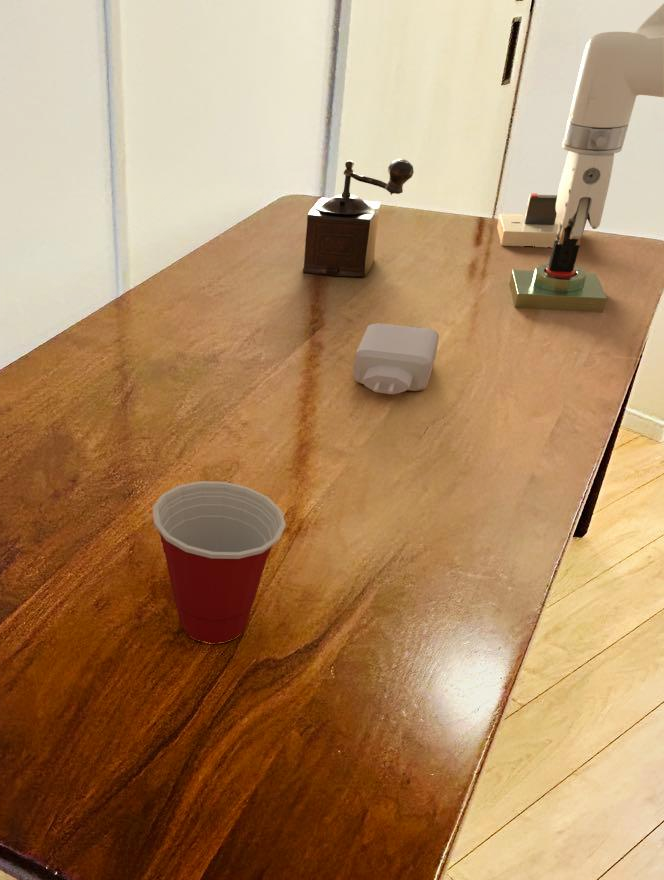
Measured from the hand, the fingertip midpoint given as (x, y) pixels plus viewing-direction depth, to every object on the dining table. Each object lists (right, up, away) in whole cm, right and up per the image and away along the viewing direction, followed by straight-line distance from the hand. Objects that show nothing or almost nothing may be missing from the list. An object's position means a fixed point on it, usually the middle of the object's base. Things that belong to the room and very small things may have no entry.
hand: (560, 269), depth 133 cm
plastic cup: (-56, -48, -53) cm, 91 cm away
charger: (-30, -20, -18) cm, 40 cm away
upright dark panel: (+7, +15, +23) cm, 28 cm away
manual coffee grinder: (-26, +5, +16) cm, 31 cm away
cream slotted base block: (+7, +13, +24) cm, 28 cm away
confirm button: (0, -1, +1) cm, 2 cm away
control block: (0, -3, +3) cm, 4 cm away
